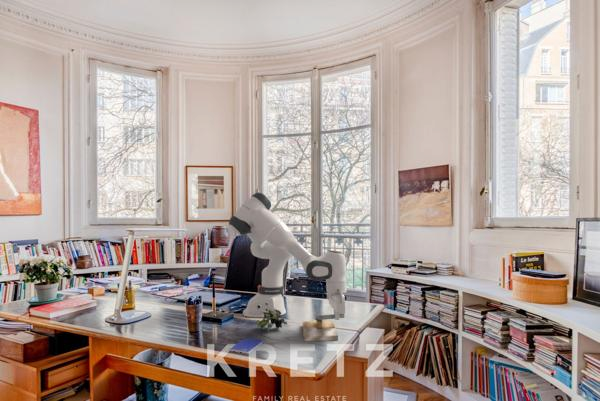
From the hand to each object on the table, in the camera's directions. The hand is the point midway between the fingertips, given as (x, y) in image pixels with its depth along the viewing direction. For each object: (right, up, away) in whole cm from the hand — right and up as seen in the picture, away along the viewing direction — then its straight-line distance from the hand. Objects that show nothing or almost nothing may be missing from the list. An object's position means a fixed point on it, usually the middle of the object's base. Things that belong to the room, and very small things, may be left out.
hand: (336, 319), depth 166 cm
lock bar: (-3, 0, +1) cm, 3 cm away
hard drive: (-37, -7, -16) cm, 41 cm away
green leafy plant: (-29, -6, +3) cm, 30 cm away
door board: (-8, -6, 0) cm, 10 cm away
